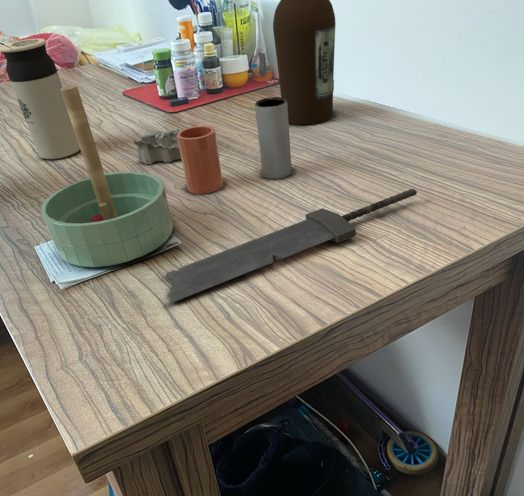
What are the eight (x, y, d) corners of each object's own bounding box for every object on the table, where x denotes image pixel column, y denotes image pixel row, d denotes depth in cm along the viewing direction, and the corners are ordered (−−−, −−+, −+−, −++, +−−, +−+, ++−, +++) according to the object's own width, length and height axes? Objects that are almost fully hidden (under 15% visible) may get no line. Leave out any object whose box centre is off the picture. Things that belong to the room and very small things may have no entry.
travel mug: (78, 141, 100) (43, 35, 88) (85, 153, 95) (49, 42, 83) (37, 151, 98) (-5, 44, 86) (42, 164, 93) (-2, 51, 81)
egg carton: (136, 166, 87) (129, 141, 84) (147, 149, 93) (141, 126, 90) (197, 161, 86) (192, 136, 83) (204, 145, 91) (200, 121, 89)
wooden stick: (107, 242, 66) (56, 92, 54) (112, 230, 69) (64, 84, 57) (120, 241, 66) (72, 90, 54) (125, 228, 69) (80, 82, 57)
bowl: (43, 276, 62) (23, 231, 58) (75, 218, 74) (60, 178, 70) (166, 263, 61) (154, 217, 58) (179, 207, 73) (170, 166, 69)
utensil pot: (186, 195, 76) (174, 141, 70) (189, 181, 80) (178, 128, 75) (222, 191, 75) (213, 136, 70) (223, 177, 80) (215, 123, 74)
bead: (86, 226, 68) (85, 222, 66) (99, 212, 68) (98, 207, 66) (103, 239, 69) (102, 236, 66) (115, 225, 69) (115, 221, 67)
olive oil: (269, 124, 96) (255, -42, 80) (296, 106, 103) (287, -51, 86) (320, 128, 92) (316, -47, 75) (345, 110, 98) (345, -56, 82)
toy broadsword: (154, 283, 60) (149, 268, 58) (396, 190, 69) (396, 175, 68) (175, 313, 55) (170, 297, 53) (433, 208, 64) (434, 192, 63)
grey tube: (294, 167, 80) (289, 96, 73) (288, 179, 76) (283, 106, 70) (265, 167, 81) (258, 97, 74) (259, 179, 77) (251, 107, 71)
